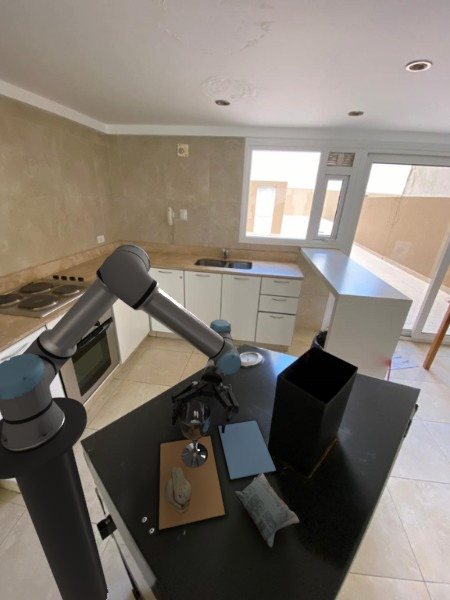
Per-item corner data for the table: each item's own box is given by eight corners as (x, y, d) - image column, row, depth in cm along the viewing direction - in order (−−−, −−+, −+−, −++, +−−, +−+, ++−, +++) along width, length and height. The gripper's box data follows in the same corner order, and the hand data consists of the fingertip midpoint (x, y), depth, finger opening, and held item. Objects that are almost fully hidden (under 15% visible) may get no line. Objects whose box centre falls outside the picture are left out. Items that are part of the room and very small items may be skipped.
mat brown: (160, 444, 70) (160, 443, 70) (210, 436, 73) (210, 435, 73) (159, 529, 52) (158, 528, 52) (224, 514, 55) (224, 513, 55)
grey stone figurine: (166, 522, 53) (164, 491, 50) (163, 484, 60) (161, 455, 57) (192, 514, 55) (192, 483, 51) (187, 478, 62) (186, 449, 58)
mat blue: (218, 426, 77) (218, 426, 77) (255, 421, 79) (255, 420, 79) (230, 479, 62) (230, 479, 62) (275, 470, 65) (276, 470, 65)
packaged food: (261, 478, 63) (263, 464, 61) (298, 526, 54) (301, 512, 52) (233, 498, 58) (234, 484, 57) (267, 555, 49) (270, 541, 47)
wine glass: (184, 473, 63) (182, 429, 57) (176, 446, 70) (175, 404, 64) (213, 462, 66) (215, 419, 60) (204, 438, 73) (204, 396, 67)
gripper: (249, 389, 86) (243, 443, 67) (179, 378, 90) (154, 427, 70) (251, 371, 84) (245, 422, 64) (178, 361, 87) (152, 407, 67)
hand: (197, 425), depth 67 cm, fingers open, 13 cm apart
